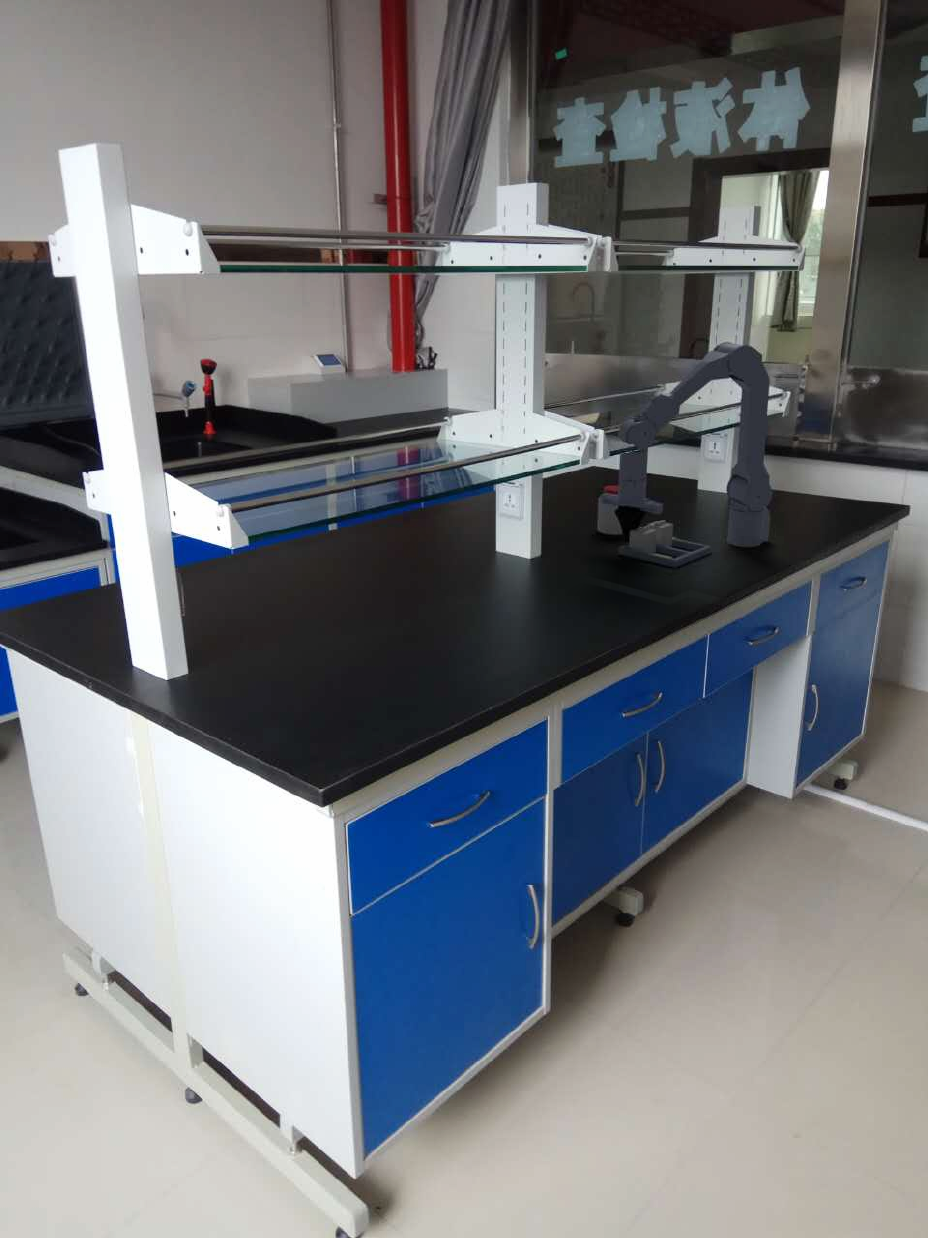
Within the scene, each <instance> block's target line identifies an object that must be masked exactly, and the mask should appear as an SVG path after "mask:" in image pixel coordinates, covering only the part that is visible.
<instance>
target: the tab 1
mask: <svg viewBox="0 0 928 1238" xmlns="http://www.w3.org/2000/svg"><path fill="white" fill-rule="evenodd" d="M649 528H650V527H649V526H647V525H644V526H639V527H638V528H637V529H634V530H631V531H630V542H628V544H629V548H630V549H635V550H639V551H643V552H647V553H652V554H656V552H655V551H656V536H657V530H653V529H649Z"/></svg>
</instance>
